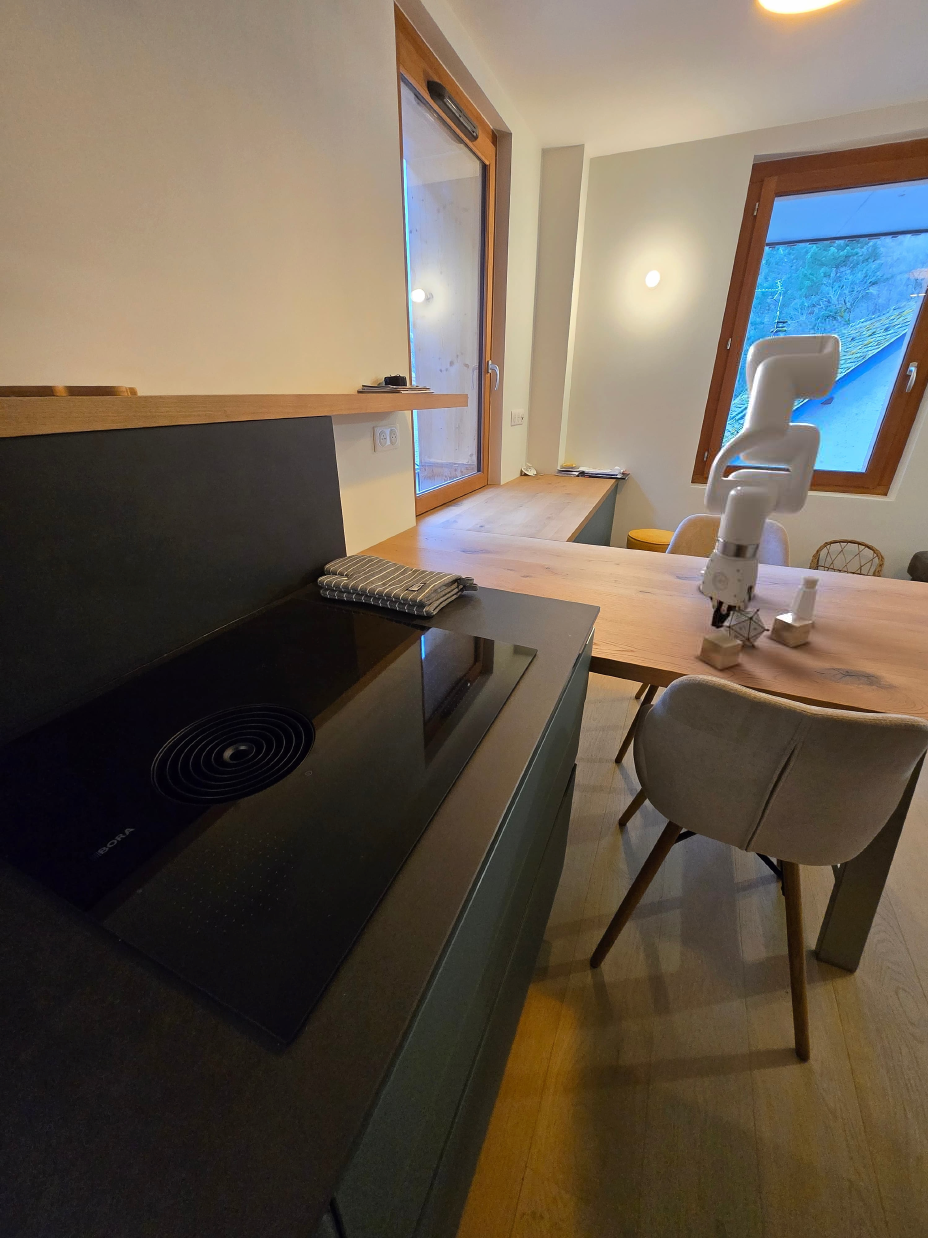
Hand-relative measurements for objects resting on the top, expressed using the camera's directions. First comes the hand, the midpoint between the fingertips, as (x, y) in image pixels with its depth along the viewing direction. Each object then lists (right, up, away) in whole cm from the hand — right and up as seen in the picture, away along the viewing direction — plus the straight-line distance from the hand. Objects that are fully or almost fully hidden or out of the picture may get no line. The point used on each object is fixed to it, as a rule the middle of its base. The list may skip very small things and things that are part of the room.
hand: (718, 626), depth 111 cm
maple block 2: (+13, -3, -3) cm, 14 cm away
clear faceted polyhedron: (+2, -4, -4) cm, 6 cm away
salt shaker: (+21, +1, +5) cm, 21 cm away
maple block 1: (-6, -7, -11) cm, 14 cm away
